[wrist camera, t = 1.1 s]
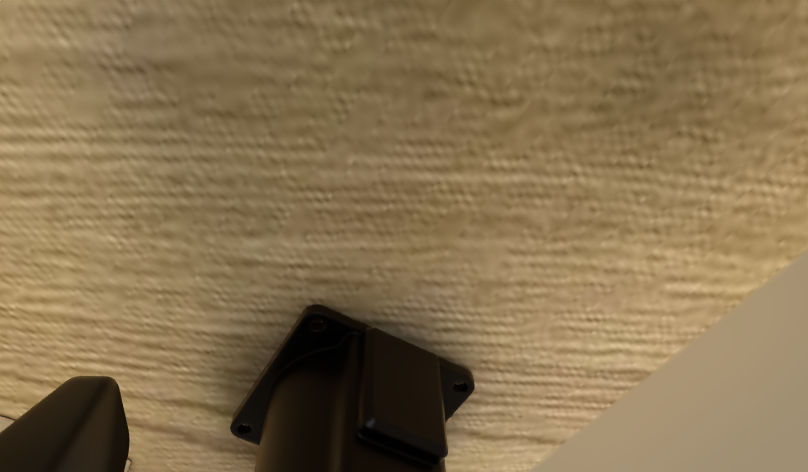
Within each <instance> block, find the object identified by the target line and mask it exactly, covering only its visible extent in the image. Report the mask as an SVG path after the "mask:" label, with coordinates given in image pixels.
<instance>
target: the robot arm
mask: <svg viewBox="0 0 808 472" xmlns="http://www.w3.org/2000/svg"><path fill="white" fill-rule="evenodd" d="M316 318H317V319H321V320H322V321H323V322H320V323H315V322H313V321H312V319H316ZM457 382H464V383H463V384H459V385H458V384H455V383H457ZM473 390H474V378H473V375H472V373H471V372H470V371H468V370H467V369H464V368H462V367H460V366H458V365H455V364H453V363H451V362H449V361H446V360H444V359H442V358H440V357H437V356H436V355H435V354H433V353H430V352H428V351H426V350H424V349H421V348H419V347H417V346H415V345H413V344H410V343H408V342H406V341H404V340H401V339H399V338H397V337H395V336H392V335H390V334H388V333H386V332H383V331H381V330H379V329H377V328H372V327H370V326H368V325H366V324H363V323H361V322H359V321H357V320H354V319H352V318H350V317H348V316H346V315H343V314H341V313H339V312H337V311H334V310H332V309H330V308H328V307H325V306H322V305H312V306H309V307H307V308H306V309H305V310H304V311H303V312H302V314H301V315H300V317H299V318H298V320H297V321H296V323H295V324H294V326H293V327H292V329H291V330H290V332H289V333H288V335H287V336H286V338H285V339H284V341H283V342H282V344H281V345H280V347H279V348H278V350H277V351H276V353H275V354H274V356H273V357H272V359H271V360H270V362H269V363H268V365H267V366H266V368H265V369H264V371H263V372H262V374H261V375H260V377H259V378H258V380H257V381H256V383H255V384H254V386H253V387H252V389H251V390H250V392H249V393H248V395H247V396H246V398H245V399H244V401H243V402H242V404H241V405H240V407H239V408H238V410H237V411H236V413H235V414H234V416H233V418H232V422H231V426H230V429H231V432H232V433H233V434H234V435H235V436H237V437H238V438H241V439H244V440H246V441H249V442H252V443H254V444H257V445H259V450H258V456H257V461H256V466H255V472H446V469H445V457H446V456H447V454H448V446H447V435H446V425H445V422H446V421H447V420H448V419H449V418H450V417H451V416H452V415H453V414H454V412H455V411H456V410H457V409H458V408H459V407H460V406H461V405H462V403H463V402H464V401H465V400H466V399H467V398H468V397H469V396H470V395H471V393H472V392H473ZM242 424H246V425H248V426H246V425H242ZM128 452H129V430H128V426H127V421H126V417H125V412H124V408H123V403H122V399H121V394H120V390H119V386H118V384H117V382H116V381H115V379H113V378H111V377H107V376H77V377H73V378H71V379H69V380H67V381H66V382H65V383H63V384H62V385H61V386H59V387H58V388H57V389H56V390H54V391H53V392H52V393H50V394H49V395H48V396H47V397H45V398H44V399H43V400H41V401H40V402H39V403H38V404H36V405H35V406H34V407H32V408H31V409H30V410H29V411H27V412H26V413H25V414H23V415H22V416H21V417H20V418H18V419H17V420H16V421H14V422H13V423H12V424H11V425H9V426H8V427H7V428H5V429H4V430H3V431H1V432H0V472H124V470H125V466H126V462H127V457H128Z"/></svg>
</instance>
